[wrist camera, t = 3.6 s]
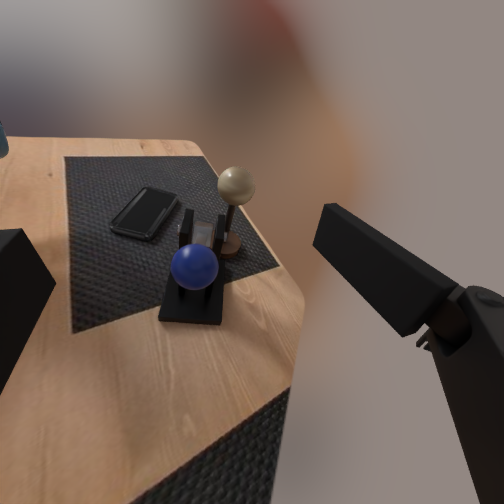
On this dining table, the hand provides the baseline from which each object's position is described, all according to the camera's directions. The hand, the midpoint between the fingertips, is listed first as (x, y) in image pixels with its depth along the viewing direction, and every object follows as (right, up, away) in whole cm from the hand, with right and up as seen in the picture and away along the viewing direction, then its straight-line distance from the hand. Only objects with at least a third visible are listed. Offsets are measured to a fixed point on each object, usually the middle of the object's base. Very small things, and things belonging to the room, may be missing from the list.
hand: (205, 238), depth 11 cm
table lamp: (-4, +1, +34) cm, 34 cm away
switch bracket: (-7, -7, +26) cm, 28 cm away
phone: (-20, +7, +35) cm, 41 cm away
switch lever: (-3, -2, +12) cm, 12 cm away
